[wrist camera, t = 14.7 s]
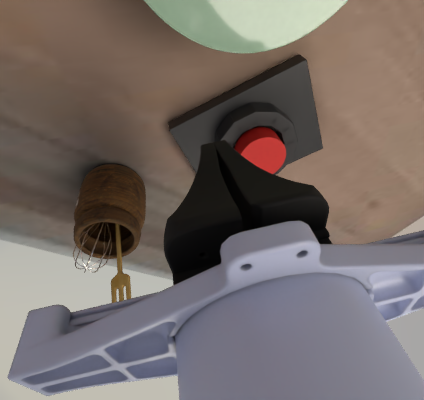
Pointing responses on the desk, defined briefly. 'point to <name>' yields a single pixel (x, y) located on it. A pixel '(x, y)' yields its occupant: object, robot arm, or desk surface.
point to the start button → (262, 148)
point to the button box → (256, 114)
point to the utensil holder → (110, 218)
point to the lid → (244, 21)
